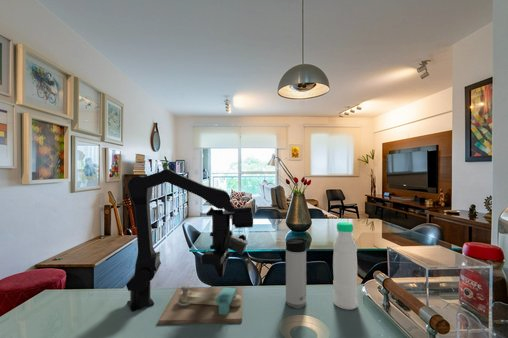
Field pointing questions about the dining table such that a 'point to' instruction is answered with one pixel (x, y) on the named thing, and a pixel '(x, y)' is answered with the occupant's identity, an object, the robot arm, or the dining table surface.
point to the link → (203, 297)
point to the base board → (200, 309)
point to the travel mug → (296, 272)
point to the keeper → (222, 300)
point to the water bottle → (345, 268)
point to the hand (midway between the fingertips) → (221, 276)
